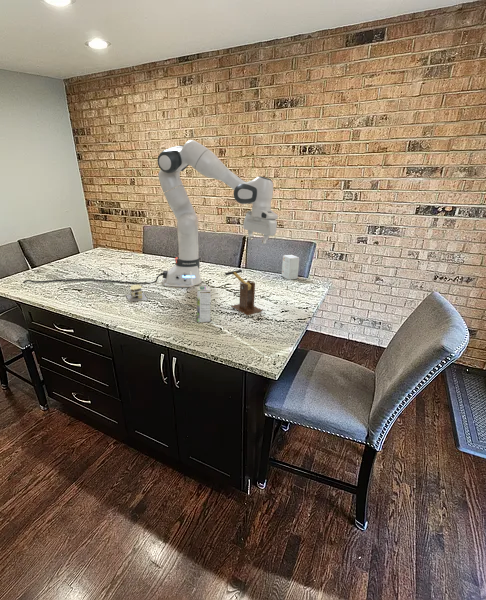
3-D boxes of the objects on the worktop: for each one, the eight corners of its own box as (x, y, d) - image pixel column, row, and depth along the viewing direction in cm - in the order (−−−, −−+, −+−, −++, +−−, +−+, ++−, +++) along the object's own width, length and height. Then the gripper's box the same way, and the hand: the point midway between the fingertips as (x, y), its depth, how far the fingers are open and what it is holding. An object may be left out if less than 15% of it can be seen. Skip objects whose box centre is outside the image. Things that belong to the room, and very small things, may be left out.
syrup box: (196, 316, 149) (196, 285, 143) (209, 316, 149) (209, 285, 144) (197, 322, 143) (196, 290, 138) (211, 321, 144) (211, 290, 139)
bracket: (230, 308, 157) (231, 280, 152) (245, 304, 162) (246, 277, 157) (247, 317, 148) (248, 288, 143) (262, 313, 152) (264, 284, 147)
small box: (297, 278, 200) (299, 257, 195) (288, 280, 198) (290, 258, 193) (290, 275, 207) (292, 254, 202) (281, 276, 205) (282, 255, 200)
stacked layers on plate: (126, 295, 174) (125, 285, 172) (143, 293, 178) (142, 283, 176) (129, 301, 166) (128, 291, 164) (147, 299, 169) (146, 289, 167)
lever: (224, 275, 156) (225, 271, 154) (239, 272, 160) (241, 268, 159) (240, 292, 148) (242, 288, 147) (256, 288, 153) (257, 284, 151)
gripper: (242, 210, 167) (239, 238, 172) (270, 215, 151) (266, 246, 156) (251, 210, 170) (248, 237, 175) (280, 215, 155) (276, 245, 159)
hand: (257, 241), depth 165 cm, fingers open, 8 cm apart
